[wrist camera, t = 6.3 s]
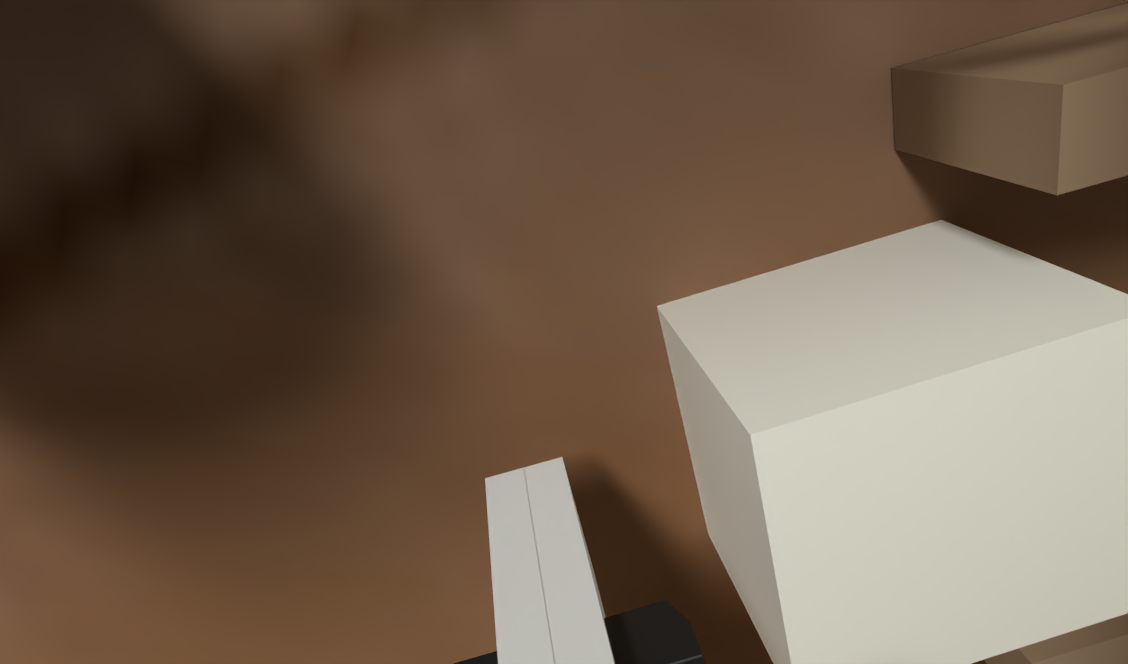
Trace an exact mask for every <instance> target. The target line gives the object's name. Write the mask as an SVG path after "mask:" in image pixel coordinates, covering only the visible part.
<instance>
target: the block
mask: <svg viewBox="0 0 1128 664" xmlns="http://www.w3.org/2000/svg"><path fill="white" fill-rule="evenodd" d="M657 309H658V314H659V318H660V323H661V327H662V331H663V336H664V340H665V345H666V349H667V354H668V358H669V362H670V367H671V371H672V376H673V380H674V385H675V389H676V393H677V398H678V402H679V407H680V411H681V416H682V420H683V424H684V429H685V433H686V438H687V442H688V447H689V451H690V455H691V460H692V464H693V469H694V473H695V478H696V482H697V486H698V491H699V495H700V500H701V504H702V509H703V513H704V517H705V522H706V526H707V531H708V534H709V536H710V538H711V540H712V542H713V544H714V546H715V548H716V550H717V552H718V554H719V556H720V558H721V560H722V562H723V564H724V566H725V568H726V570H727V572H728V574H729V576H730V578H731V580H732V582H733V584H734V586H735V588H736V590H737V592H738V594H739V596H740V598H741V600H742V602H743V604H744V606H745V608H746V610H747V612H748V614H749V616H750V618H751V620H752V622H753V624H754V626H755V628H756V630H757V632H758V634H759V636H760V638H761V640H762V642H763V644H764V646H765V648H766V650H767V652H768V654H769V656H770V658H771V660H772V662H773V664H971V663H975V662H978V661H981V660H984V659H987V658H990V657H993V656H996V655H999V654H1003V653H1006V652H1009V651H1012V650H1015V649H1018V648H1021V647H1024V646H1027V645H1031V644H1034V643H1037V642H1040V641H1043V640H1046V639H1049V638H1052V637H1056V636H1059V635H1062V634H1065V633H1068V632H1071V631H1074V630H1077V629H1080V628H1084V627H1087V626H1090V625H1093V624H1096V623H1099V622H1102V621H1105V620H1108V619H1112V618H1115V617H1118V616H1121V615H1124V614H1127V613H1128V294H1126V293H1123V292H1121V291H1118V290H1116V289H1113V288H1111V287H1108V286H1106V285H1103V284H1101V283H1098V282H1096V281H1093V280H1091V279H1088V278H1086V277H1083V276H1081V275H1078V274H1076V273H1073V272H1071V271H1068V270H1066V269H1063V268H1061V267H1058V266H1056V265H1053V264H1051V263H1048V262H1046V261H1043V260H1041V259H1038V258H1036V257H1033V256H1031V255H1028V254H1026V253H1023V252H1021V251H1018V250H1016V249H1013V248H1011V247H1008V246H1006V245H1003V244H1001V243H998V242H996V241H993V240H991V239H988V238H986V237H983V236H981V235H978V234H976V233H973V232H971V231H968V230H966V229H963V228H961V227H958V226H956V225H953V224H951V223H948V222H946V221H944V220H939V221H935V222H932V223H929V224H926V225H922V226H919V227H916V228H912V229H909V230H906V231H902V232H899V233H896V234H893V235H889V236H886V237H883V238H879V239H876V240H873V241H870V242H866V243H863V244H860V245H856V246H853V247H850V248H846V249H843V250H840V251H837V252H833V253H830V254H827V255H823V256H820V257H817V258H814V259H810V260H807V261H804V262H800V263H797V264H794V265H790V266H787V267H784V268H781V269H777V270H774V271H771V272H767V273H764V274H761V275H758V276H754V277H751V278H748V279H744V280H741V281H738V282H734V283H731V284H728V285H725V286H721V287H718V288H715V289H711V290H708V291H705V292H702V293H698V294H695V295H692V296H688V297H685V298H682V299H678V300H675V301H672V302H669V303H665V304H662V305H659V306H657Z"/></svg>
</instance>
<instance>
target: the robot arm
mask: <svg viewBox="0 0 1128 664" xmlns="http://www.w3.org/2000/svg"><path fill="white" fill-rule="evenodd" d="M485 485H486V499H487V513H488V528H489V542H490V556H491V570H492V585H493V599H494V613H495V628H496V642H497V651H496V652H492V653H489V654H485V655H482V656H478V657H475V658H471V659H468V660H464V661H461V662H457V663H454V664H706V663H705V660H704V659H703V656H702V653H701V650H700V648H699V645H698V642H697V640H696V637H695V635H694V632H693V630H692V627H691V625H690V622H689V621H688V620H687V619H685V618H684V617H683V616H682V615H681V614H680V613H679V612H678V611H677V610H676V609H675V608H674V607H673V606H672V605H671V604H670V603H669V602H668V601H667V600H665V601H662V602H659V603H655V604H652V605H648V606H645V607H641V608H638V609H634V610H631V611H627V612H624V613H620V614H617V615H613V616H610V617H605V613H604V609H603V605H602V601H601V597H600V594H599V590H598V586H597V582H596V578H595V574H594V570H593V566H592V563H591V559H590V555H589V552H588V548H587V545H586V541H585V537H584V534H583V530H582V527H581V523H580V519H579V516H578V512H577V509H576V505H575V501H574V498H573V494H572V491H571V487H570V483H569V480H568V476H567V473H566V469H565V465H564V462H563V458H562V457H560V458H557V459H553V460H550V461H546V462H542V463H539V464H535V465H532V466H528V467H524V468H521V469H517V470H514V471H510V472H506V473H503V474H499V475H496V476H492V477H489V478H485Z"/></svg>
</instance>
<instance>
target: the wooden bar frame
mask: <svg viewBox="0 0 1128 664" xmlns="http://www.w3.org/2000/svg"><path fill="white" fill-rule="evenodd" d="M891 70H892V93H893V116H894V139H895V150H898V151H902V152H905V153H909V154H912V155H916V156H919V157H923V158H926V159H930V160H933V161H937V162H941V163H944V164H948V165H951V166H955V167H958V168H962V169H965V170H969V171H972V172H976V173H980V174H983V175H987V176H990V177H994V178H997V179H1001V180H1004V181H1008V182H1011V183H1015V184H1019V185H1022V186H1026V187H1029V188H1033V189H1036V190H1040V191H1043V192H1047V193H1050V194H1054V195H1060V194H1064V193H1068V192H1071V191H1075V190H1078V189H1082V188H1085V187H1089V186H1092V185H1096V184H1099V183H1103V182H1106V181H1110V180H1113V179H1117V178H1120V177H1124V176H1127V175H1128V3H1126V4H1122V5H1119V6H1115V7H1111V8H1108V9H1104V10H1100V11H1097V12H1093V13H1090V14H1086V15H1082V16H1079V17H1075V18H1071V19H1068V20H1064V21H1061V22H1057V23H1053V24H1050V25H1046V26H1042V27H1039V28H1035V29H1032V30H1028V31H1024V32H1021V33H1017V34H1013V35H1010V36H1006V37H1003V38H999V39H995V40H992V41H988V42H984V43H981V44H977V45H974V46H970V47H966V48H963V49H959V50H955V51H952V52H948V53H945V54H941V55H937V56H934V57H930V58H926V59H923V60H919V61H916V62H912V63H908V64H905V65H901V66H897V67H894V68H891ZM984 661H985V662H986V663H987V664H1128V613H1127V614H1124V615H1121V616H1118V617H1115V618H1112V619H1108V620H1105V621H1102V622H1099V623H1096V624H1093V625H1090V626H1087V627H1084V628H1080V629H1077V630H1074V631H1071V632H1068V633H1065V634H1062V635H1059V636H1056V637H1052V638H1049V639H1046V640H1043V641H1040V642H1037V643H1034V644H1031V645H1027V646H1024V647H1021V648H1018V649H1015V650H1012V651H1009V652H1006V653H1003V654H999V655H996V656H993V657H990V658H987V659H984Z"/></svg>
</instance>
